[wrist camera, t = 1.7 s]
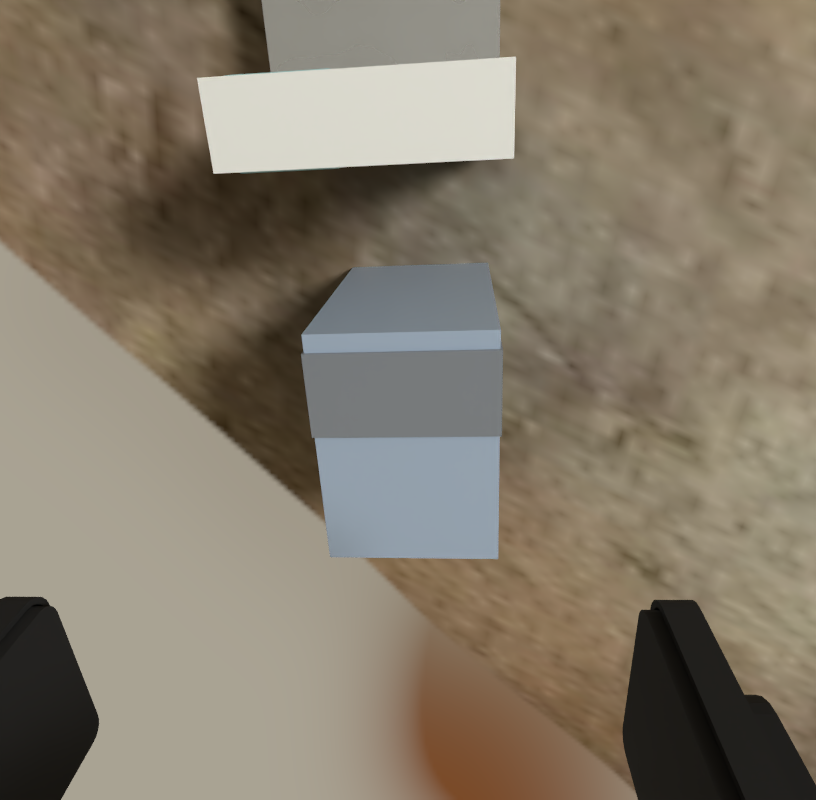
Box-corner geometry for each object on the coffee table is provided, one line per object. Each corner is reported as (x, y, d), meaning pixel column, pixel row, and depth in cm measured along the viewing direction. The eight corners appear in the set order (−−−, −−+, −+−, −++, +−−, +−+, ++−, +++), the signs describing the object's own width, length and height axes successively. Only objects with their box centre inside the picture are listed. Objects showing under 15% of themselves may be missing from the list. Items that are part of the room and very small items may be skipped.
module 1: (498, 150, 19) (514, 160, 14) (282, 162, 20) (213, 175, 14) (499, 75, 18) (516, 53, 13) (273, 89, 19) (196, 74, 13)
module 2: (488, 432, 25) (500, 561, 18) (366, 433, 25) (328, 559, 18) (489, 262, 22) (503, 331, 15) (351, 267, 23) (298, 336, 15)
